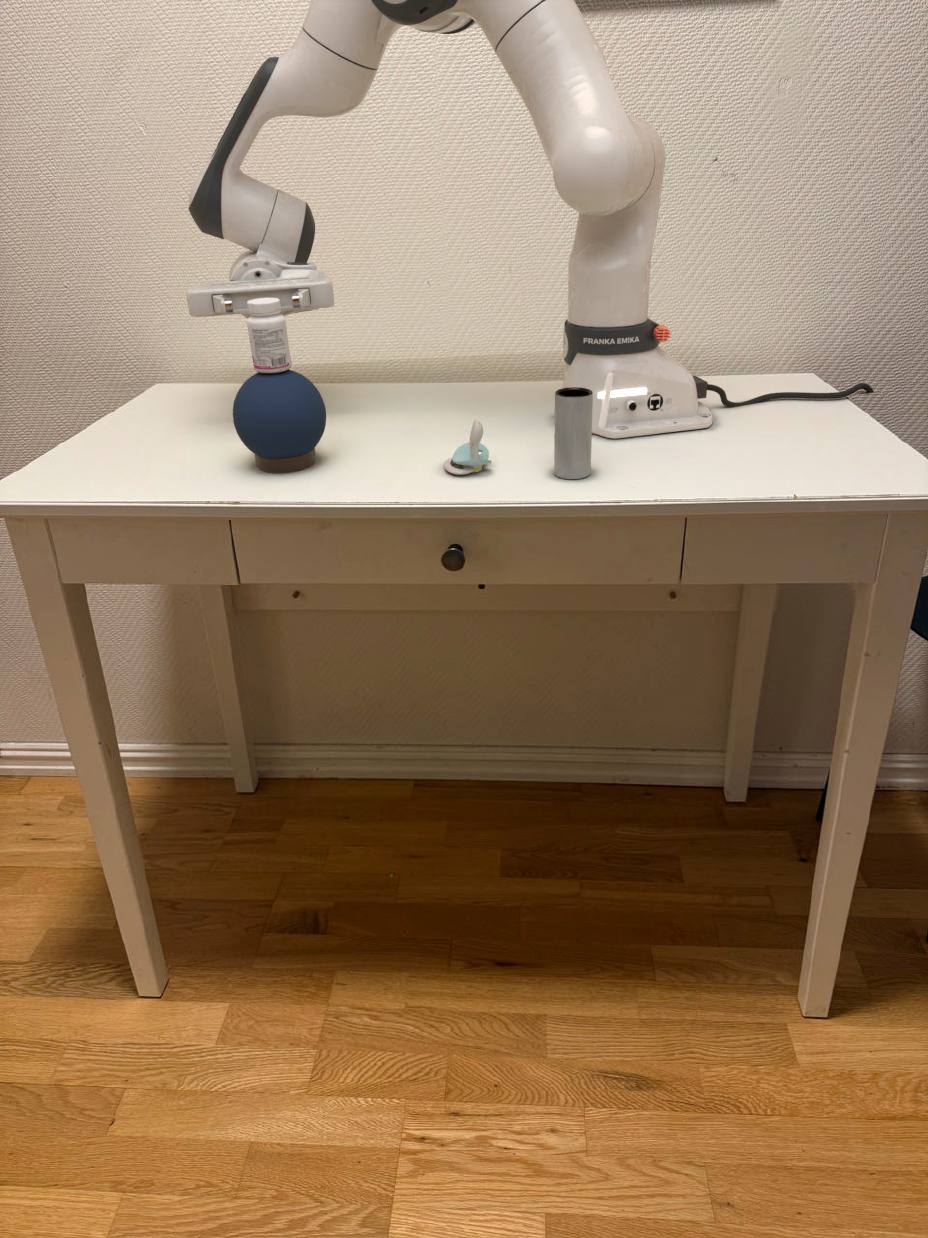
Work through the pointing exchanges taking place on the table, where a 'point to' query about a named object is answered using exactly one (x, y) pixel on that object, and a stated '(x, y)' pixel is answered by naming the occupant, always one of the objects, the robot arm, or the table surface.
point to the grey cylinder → (573, 432)
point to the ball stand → (286, 463)
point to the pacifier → (470, 453)
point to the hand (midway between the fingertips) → (262, 305)
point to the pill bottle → (268, 336)
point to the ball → (279, 414)
